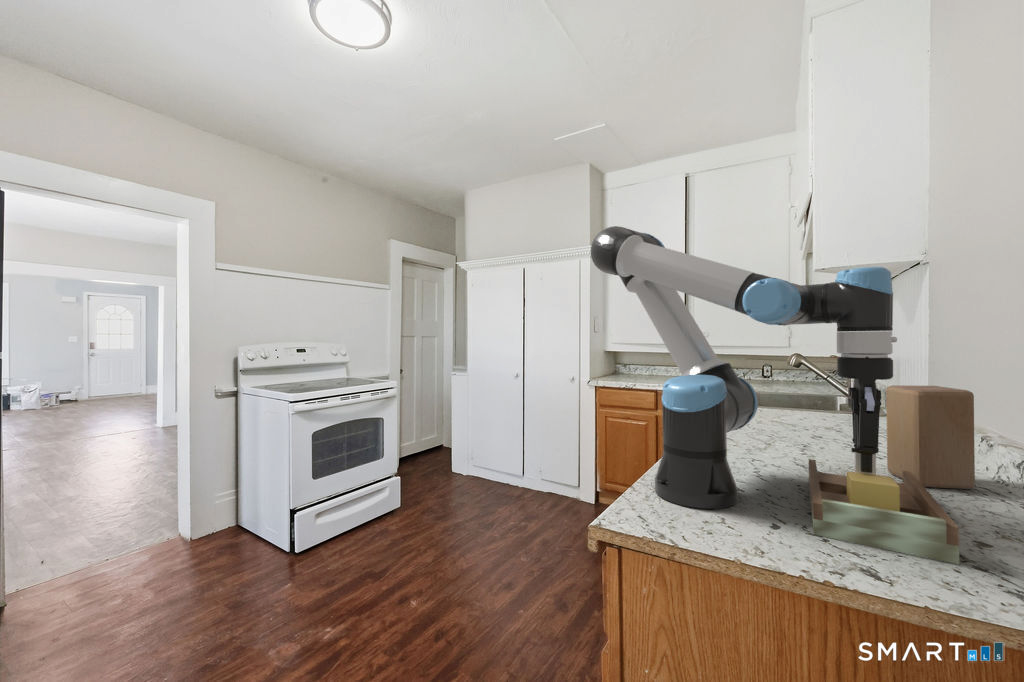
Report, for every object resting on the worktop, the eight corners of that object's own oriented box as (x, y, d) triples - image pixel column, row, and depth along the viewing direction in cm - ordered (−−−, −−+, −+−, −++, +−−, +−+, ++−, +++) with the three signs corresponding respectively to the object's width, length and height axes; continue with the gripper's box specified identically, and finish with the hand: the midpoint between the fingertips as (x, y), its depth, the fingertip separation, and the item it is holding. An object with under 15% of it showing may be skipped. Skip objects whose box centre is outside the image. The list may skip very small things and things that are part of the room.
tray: (813, 534, 65) (813, 499, 65) (808, 482, 88) (808, 456, 88) (959, 564, 56) (958, 524, 56) (911, 497, 79) (911, 469, 79)
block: (977, 491, 82) (976, 390, 82) (918, 488, 84) (917, 390, 84) (937, 474, 92) (936, 385, 92) (885, 472, 94) (883, 384, 94)
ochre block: (851, 507, 69) (850, 480, 69) (846, 496, 74) (846, 471, 74) (899, 515, 65) (899, 486, 66) (891, 503, 70) (891, 476, 71)
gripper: (901, 358, 65) (902, 505, 66) (884, 354, 76) (885, 481, 76) (841, 357, 69) (842, 496, 70) (833, 354, 80) (834, 474, 81)
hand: (865, 488), depth 73 cm, fingers closed
